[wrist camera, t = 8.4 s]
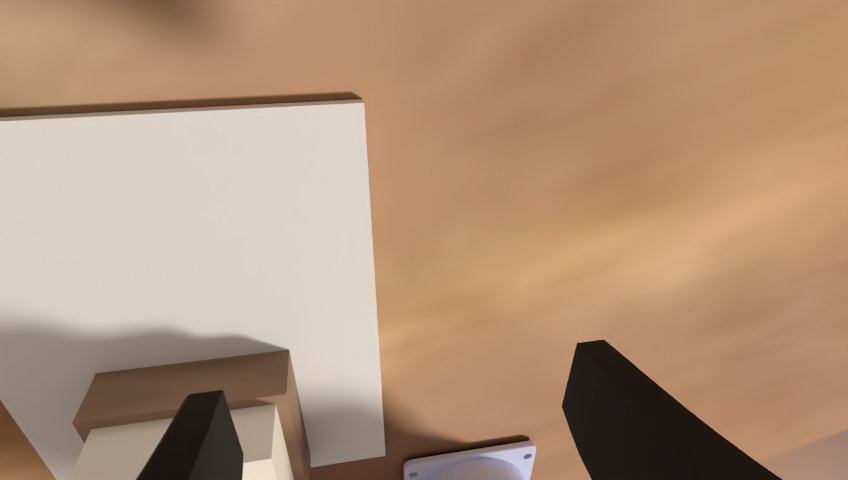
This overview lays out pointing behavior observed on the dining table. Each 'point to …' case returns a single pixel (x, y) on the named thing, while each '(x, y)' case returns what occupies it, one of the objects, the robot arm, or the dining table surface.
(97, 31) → the dining table surface
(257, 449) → the cream block
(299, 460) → the walnut base block
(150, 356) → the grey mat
